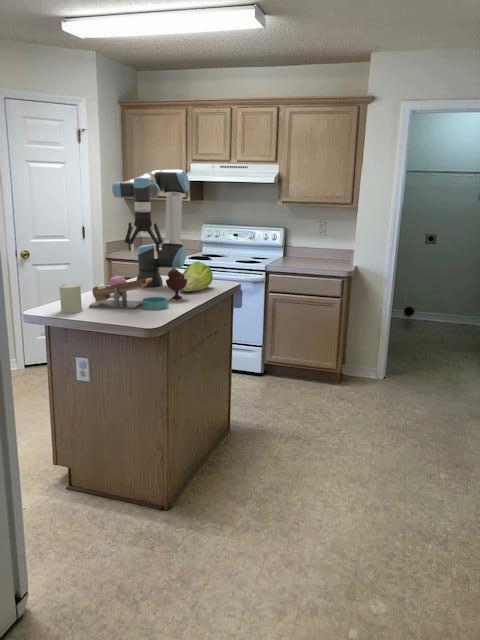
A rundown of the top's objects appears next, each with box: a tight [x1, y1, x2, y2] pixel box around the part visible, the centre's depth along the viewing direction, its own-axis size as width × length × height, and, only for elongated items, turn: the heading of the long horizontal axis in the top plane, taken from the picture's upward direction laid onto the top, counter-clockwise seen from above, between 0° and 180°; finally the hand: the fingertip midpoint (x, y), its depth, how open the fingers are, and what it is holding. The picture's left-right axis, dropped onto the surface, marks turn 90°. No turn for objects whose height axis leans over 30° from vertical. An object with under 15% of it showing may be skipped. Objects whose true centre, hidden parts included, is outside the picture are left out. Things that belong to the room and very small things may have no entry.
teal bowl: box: [141, 296, 169, 311], centre depth 239 cm, size 12×12×4 cm
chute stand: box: [88, 287, 143, 310], centre depth 240 cm, size 13×22×10 cm, turn 83°
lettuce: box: [182, 260, 214, 292], centre depth 279 cm, size 15×24×16 cm
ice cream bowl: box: [165, 268, 187, 301], centre depth 256 cm, size 11×11×15 cm
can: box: [58, 283, 83, 314], centre depth 229 cm, size 9×9×12 cm
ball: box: [97, 283, 106, 290], centre depth 240 cm, size 4×4×4 cm
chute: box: [91, 278, 152, 302], centre depth 244 cm, size 17×24×6 cm
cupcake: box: [108, 275, 128, 296], centre depth 264 cm, size 9×9×10 cm
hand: (144, 258), depth 245 cm, fingers open, 11 cm apart
